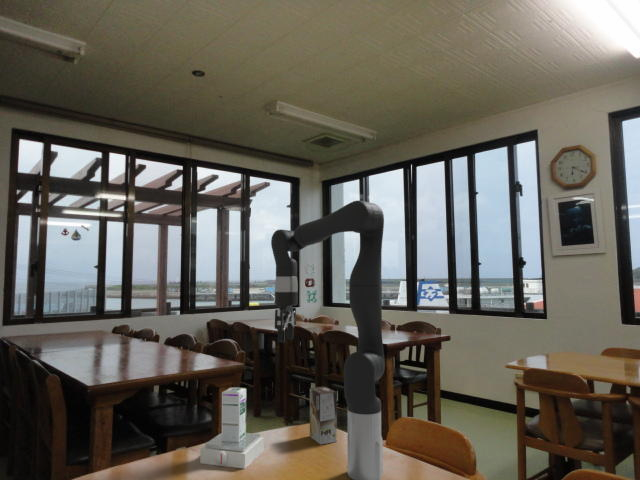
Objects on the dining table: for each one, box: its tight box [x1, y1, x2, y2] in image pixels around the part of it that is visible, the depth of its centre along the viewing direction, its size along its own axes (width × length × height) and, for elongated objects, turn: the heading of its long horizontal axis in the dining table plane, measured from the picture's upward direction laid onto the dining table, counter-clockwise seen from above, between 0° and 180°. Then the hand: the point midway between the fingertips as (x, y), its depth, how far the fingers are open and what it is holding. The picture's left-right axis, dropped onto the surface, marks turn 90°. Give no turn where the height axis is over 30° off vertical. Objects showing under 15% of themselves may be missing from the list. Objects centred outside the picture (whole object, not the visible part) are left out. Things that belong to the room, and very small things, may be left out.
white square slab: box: [199, 436, 265, 470], centre depth 134 cm, size 14×15×4 cm
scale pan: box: [204, 432, 261, 452], centre depth 135 cm, size 12×12×1 cm
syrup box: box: [221, 386, 247, 443], centre depth 135 cm, size 6×6×14 cm
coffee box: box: [309, 386, 338, 445], centre depth 151 cm, size 9×6×16 cm
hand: (285, 340), depth 146 cm, fingers open, 8 cm apart
